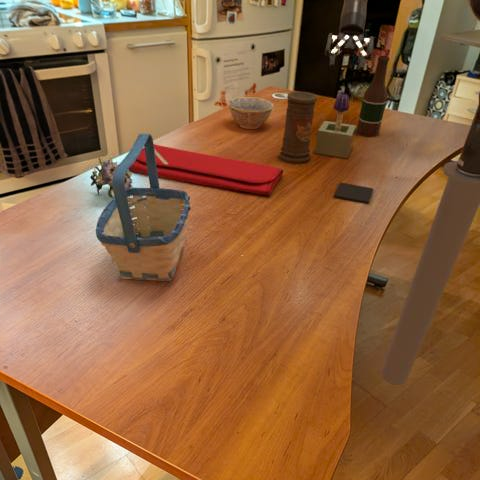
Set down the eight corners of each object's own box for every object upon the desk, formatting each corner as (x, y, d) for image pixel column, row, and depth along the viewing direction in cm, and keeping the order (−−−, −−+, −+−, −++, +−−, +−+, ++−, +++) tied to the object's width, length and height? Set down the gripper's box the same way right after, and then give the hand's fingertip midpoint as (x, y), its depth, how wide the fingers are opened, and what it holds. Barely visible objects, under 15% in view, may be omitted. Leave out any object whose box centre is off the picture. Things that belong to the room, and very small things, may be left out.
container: (274, 157, 141) (279, 94, 130) (291, 150, 147) (299, 89, 135) (297, 165, 137) (305, 101, 125) (314, 158, 142) (324, 95, 131)
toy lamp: (341, 153, 146) (352, 97, 136) (327, 152, 147) (336, 96, 136) (340, 148, 150) (350, 92, 139) (325, 147, 150) (334, 91, 139)
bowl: (281, 127, 163) (283, 105, 158) (249, 137, 154) (250, 113, 149) (249, 116, 171) (251, 94, 167) (217, 124, 163) (218, 101, 158)
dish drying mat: (268, 198, 120) (269, 184, 117) (126, 172, 128) (125, 159, 126) (283, 175, 131) (284, 162, 129) (151, 153, 140) (150, 140, 137)
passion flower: (127, 219, 119) (121, 196, 107) (86, 207, 118) (75, 183, 107) (141, 181, 122) (135, 155, 110) (101, 170, 121) (91, 142, 110)
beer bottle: (366, 128, 167) (383, 53, 151) (383, 134, 162) (401, 58, 146) (351, 131, 163) (366, 54, 148) (367, 138, 158) (385, 60, 143)
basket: (124, 235, 102) (110, 126, 87) (197, 242, 101) (195, 133, 86) (91, 291, 86) (66, 169, 71) (177, 300, 85) (170, 179, 70)
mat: (372, 190, 126) (373, 188, 126) (368, 203, 120) (368, 201, 119) (340, 184, 128) (340, 182, 128) (334, 197, 122) (334, 195, 121)
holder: (352, 147, 151) (356, 125, 146) (347, 158, 143) (351, 135, 139) (321, 142, 153) (324, 120, 149) (314, 152, 146) (317, 130, 141)
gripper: (331, 8, 140) (324, 59, 138) (378, 12, 138) (372, 63, 137) (328, 26, 147) (322, 74, 146) (373, 30, 146) (367, 78, 144)
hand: (346, 69), depth 141 cm, fingers open, 8 cm apart
